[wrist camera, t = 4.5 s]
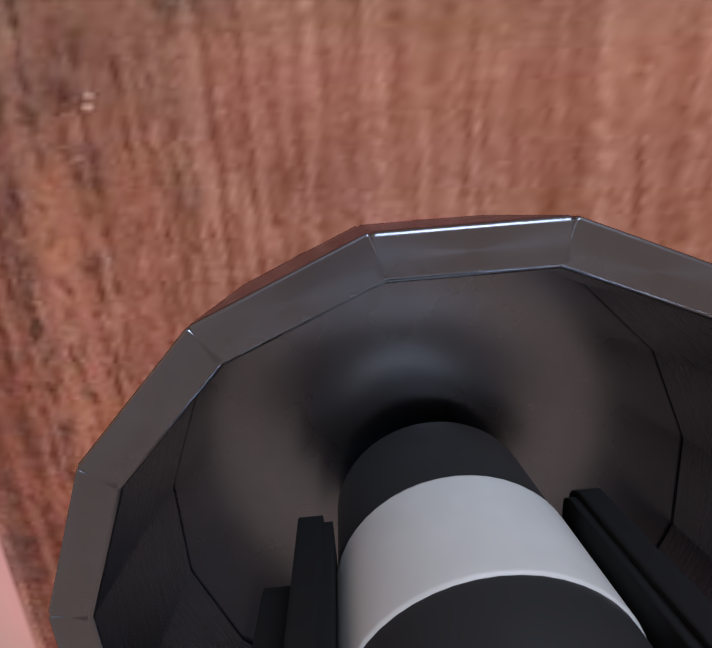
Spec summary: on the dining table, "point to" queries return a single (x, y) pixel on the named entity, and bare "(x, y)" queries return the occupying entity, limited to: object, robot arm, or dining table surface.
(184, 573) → the pan
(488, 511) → the cylinder
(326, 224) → the dining table surface
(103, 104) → the dining table surface
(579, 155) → the dining table surface
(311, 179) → the dining table surface
